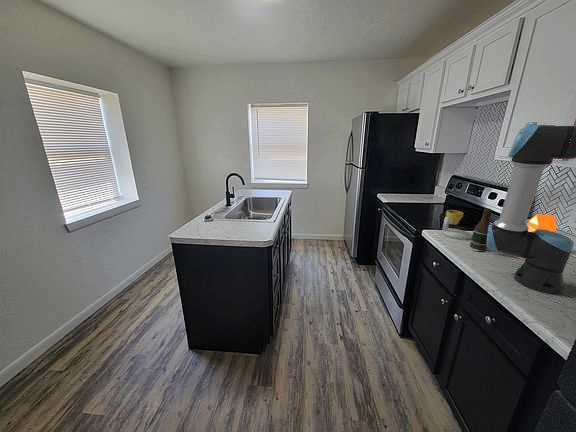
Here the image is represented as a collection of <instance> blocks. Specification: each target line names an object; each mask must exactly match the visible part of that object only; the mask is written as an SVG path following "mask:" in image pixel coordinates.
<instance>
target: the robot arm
mask: <svg viewBox="0 0 576 432" xmlns="http://www.w3.org/2000/svg"><path fill="white" fill-rule="evenodd" d="M537 122H538V121H531V122H530V121H529V122H526V124H525V126H524V127H522V128H520V130H518V132H517V135H516V137H515V139H514V141H513V143H512V146H511V147H510V150H509V152H508V155H507V156H508V158H510V159H511V160H510V162H511V163H512V164H513V165H514V167H513V171H512V174H511V176H510V177H511V178H510V182H509V185H508V187H507V192H506V196H505V198H504V202H503V205H502V208H501V212H500V215H499V219H496V220H494V222H493V224H492V223H490V225H489V227H488V234H487V249H488V250H490V251H494V252H497V253H501V254H507V255H510V256H515V257H519V258H524V262H523V264H522V265H520V267H519V268H518V269H517V270H516V271H515V272H514V275H513V279H514V280H515V281H516V282H517V283H519V284H521V286H524V287H527V288H529V289H531V290H534V291H537V292H542V293H546V294H554V295H557V294H558V295H559V294H561V293H562V292H563V290H564V287H565V284H564V276H563V275H564V274H563V273H564V270H565V268H566V265H567V263H568V261H569V259H570V256H571V254H572V253H573V248H574V244H575V243H574V241H573V239H571V238H570V237H568V236H566V235H563V233H562V234H561V233H559V232H556V231H555V232H553V231H549V230H544V229H536V230H535V231H534V232H530V231H528V229H529V227H528V226H527V225H528V224H526V223H527V220H528V217H529V215H530V214H529V213H530V210H531V209H532V208H531V207H532V205H533V203H534V199H535V196H536V193H537V191H538V187H539V184H540V181H541V179H542V176H543V172H544V169H545V168H547V167H549V166H551V165H552V163H553V160H572V159H573V160H574V159H576V126H555V125H556V124H551V125H550V124H545V125H537ZM570 139H571V140H570ZM569 142H570V143H569Z"/></svg>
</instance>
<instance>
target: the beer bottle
mask: <svg viewBox="0 0 576 432" xmlns="http://www.w3.org/2000/svg"><path fill="white" fill-rule="evenodd" d="M492 213H493V209H491V208H484V209H483V213H482V217H481V220H480V221H479V223H477V224H476V225H475V227H474V229H473V232H472V238H471V239H470V244H469V248H472V249H474V250H475V252H477V253H485V252H486V250H487V249H488V248H487V234H488V227H489V225H491V223H490V222H491V217H492Z"/></svg>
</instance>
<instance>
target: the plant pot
mask: <svg viewBox="0 0 576 432" xmlns="http://www.w3.org/2000/svg"><path fill="white" fill-rule="evenodd" d="M445 217H450V221H449V225H456V226H457V225H459V223H460V221H461V220H462V219H463V217H464V212H462V211H459V210H454V209H447V210H446V211H445Z"/></svg>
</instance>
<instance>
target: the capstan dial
mask: <svg viewBox="0 0 576 432" xmlns="http://www.w3.org/2000/svg"><path fill="white" fill-rule="evenodd" d="M449 221H450V217H447V216H444V220H443V225H442V229H441V234H442V235H443V236H445V237H447V238H451V239H455V240H458V241H460V240H461V241H469V240H470V241H471V239H472V235H473V233H470V232H468V231H465V230H462V229H459V228H458V229H457V228H452V227H451V228H449V225H450V224H449Z"/></svg>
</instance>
